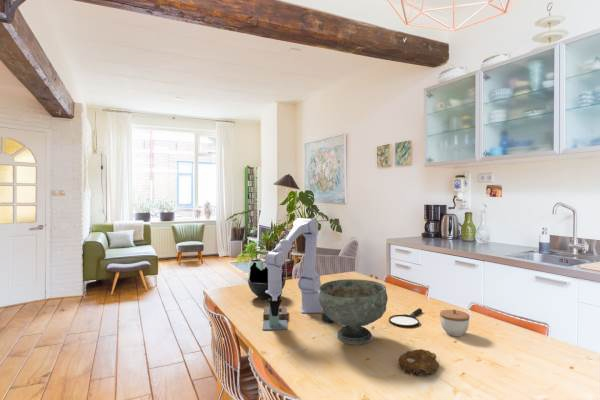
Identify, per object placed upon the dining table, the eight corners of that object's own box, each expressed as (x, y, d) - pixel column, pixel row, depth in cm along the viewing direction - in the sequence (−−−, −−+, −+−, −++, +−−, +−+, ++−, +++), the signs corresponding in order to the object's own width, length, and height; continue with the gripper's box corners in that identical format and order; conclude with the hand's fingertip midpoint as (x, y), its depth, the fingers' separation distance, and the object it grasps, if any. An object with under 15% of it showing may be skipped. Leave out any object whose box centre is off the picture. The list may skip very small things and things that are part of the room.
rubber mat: (286, 321, 154) (286, 319, 154) (287, 329, 144) (287, 328, 144) (263, 321, 153) (263, 320, 153) (262, 330, 143) (262, 329, 143)
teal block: (279, 322, 151) (279, 301, 151) (279, 326, 147) (279, 304, 147) (269, 322, 150) (269, 301, 150) (269, 326, 146) (269, 304, 146)
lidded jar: (467, 330, 143) (467, 307, 143) (471, 340, 133) (471, 315, 133) (439, 326, 147) (439, 304, 147) (440, 336, 137) (440, 312, 137)
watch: (331, 324, 149) (331, 298, 149) (319, 319, 156) (319, 294, 156) (341, 321, 153) (341, 296, 153) (329, 316, 159) (329, 292, 159)
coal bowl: (292, 296, 192) (292, 261, 192) (270, 305, 175) (270, 268, 175) (263, 290, 203) (263, 258, 202) (240, 299, 186) (239, 263, 185)
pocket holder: (286, 311, 166) (286, 306, 166) (287, 319, 156) (287, 313, 156) (264, 312, 166) (264, 306, 165) (263, 320, 155) (263, 314, 155)
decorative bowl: (343, 359, 118) (343, 299, 118) (306, 332, 141) (306, 282, 141) (402, 343, 130) (402, 289, 130) (360, 321, 153) (360, 275, 153)
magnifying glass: (433, 315, 162) (433, 310, 162) (411, 332, 143) (411, 326, 143) (407, 309, 170) (407, 305, 170) (383, 324, 151) (383, 319, 151)
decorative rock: (409, 354, 123) (394, 374, 110) (408, 342, 123) (393, 361, 110) (444, 361, 116) (431, 383, 104) (443, 349, 116) (430, 369, 104)
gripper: (266, 276, 155) (266, 307, 156) (264, 285, 141) (264, 319, 141) (282, 276, 156) (282, 307, 156) (282, 284, 141) (282, 318, 141)
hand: (275, 312), depth 149 cm, fingers open, 7 cm apart
